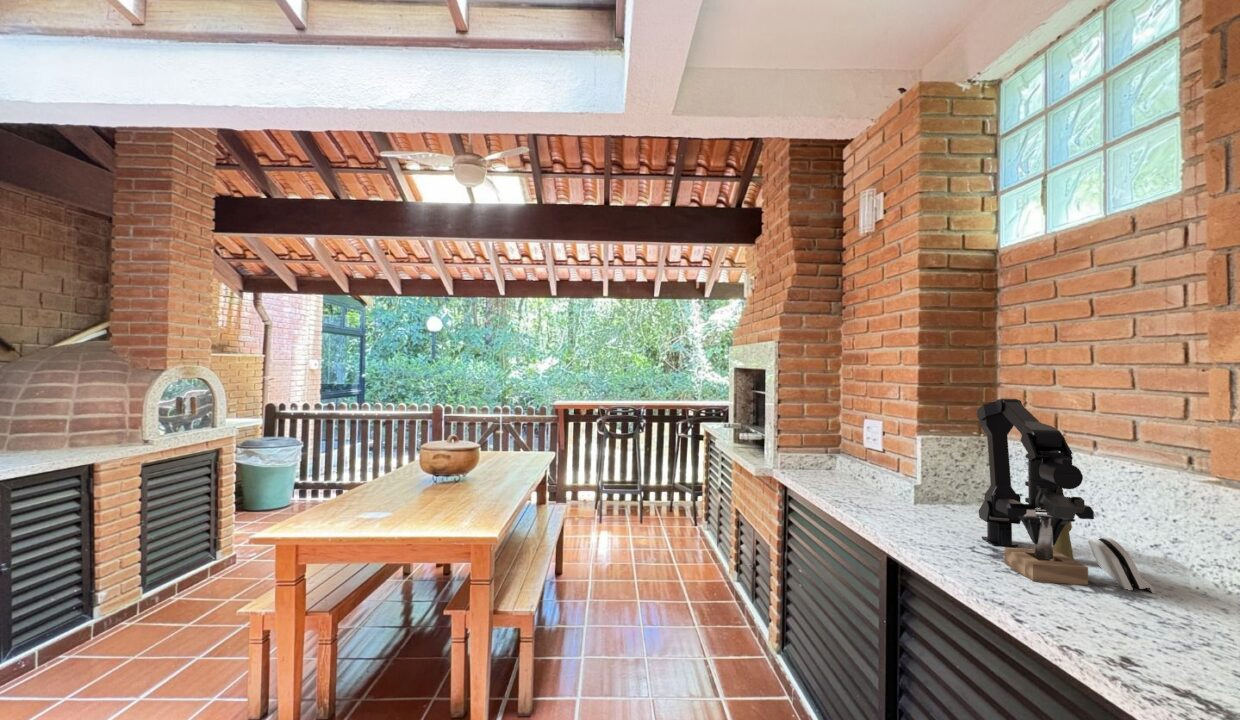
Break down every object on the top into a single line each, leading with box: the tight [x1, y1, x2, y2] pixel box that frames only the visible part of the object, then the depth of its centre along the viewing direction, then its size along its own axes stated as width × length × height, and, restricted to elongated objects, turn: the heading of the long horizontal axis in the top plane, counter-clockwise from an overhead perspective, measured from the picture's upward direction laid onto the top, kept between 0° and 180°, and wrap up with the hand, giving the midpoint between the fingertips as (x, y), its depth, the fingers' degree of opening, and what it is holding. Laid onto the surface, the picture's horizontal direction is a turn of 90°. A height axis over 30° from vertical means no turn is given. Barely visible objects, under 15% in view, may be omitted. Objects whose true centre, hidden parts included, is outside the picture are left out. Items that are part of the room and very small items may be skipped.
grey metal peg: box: [1034, 512, 1053, 559], centre depth 127 cm, size 4×4×10 cm
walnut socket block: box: [1003, 547, 1089, 586], centre depth 127 cm, size 12×12×4 cm
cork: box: [1053, 522, 1075, 561], centre depth 136 cm, size 6×6×11 cm
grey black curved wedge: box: [1088, 537, 1156, 594], centre depth 124 cm, size 17×5×10 cm, turn 154°
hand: (1043, 544), depth 127 cm, fingers closed on grey metal peg, 3 cm apart
